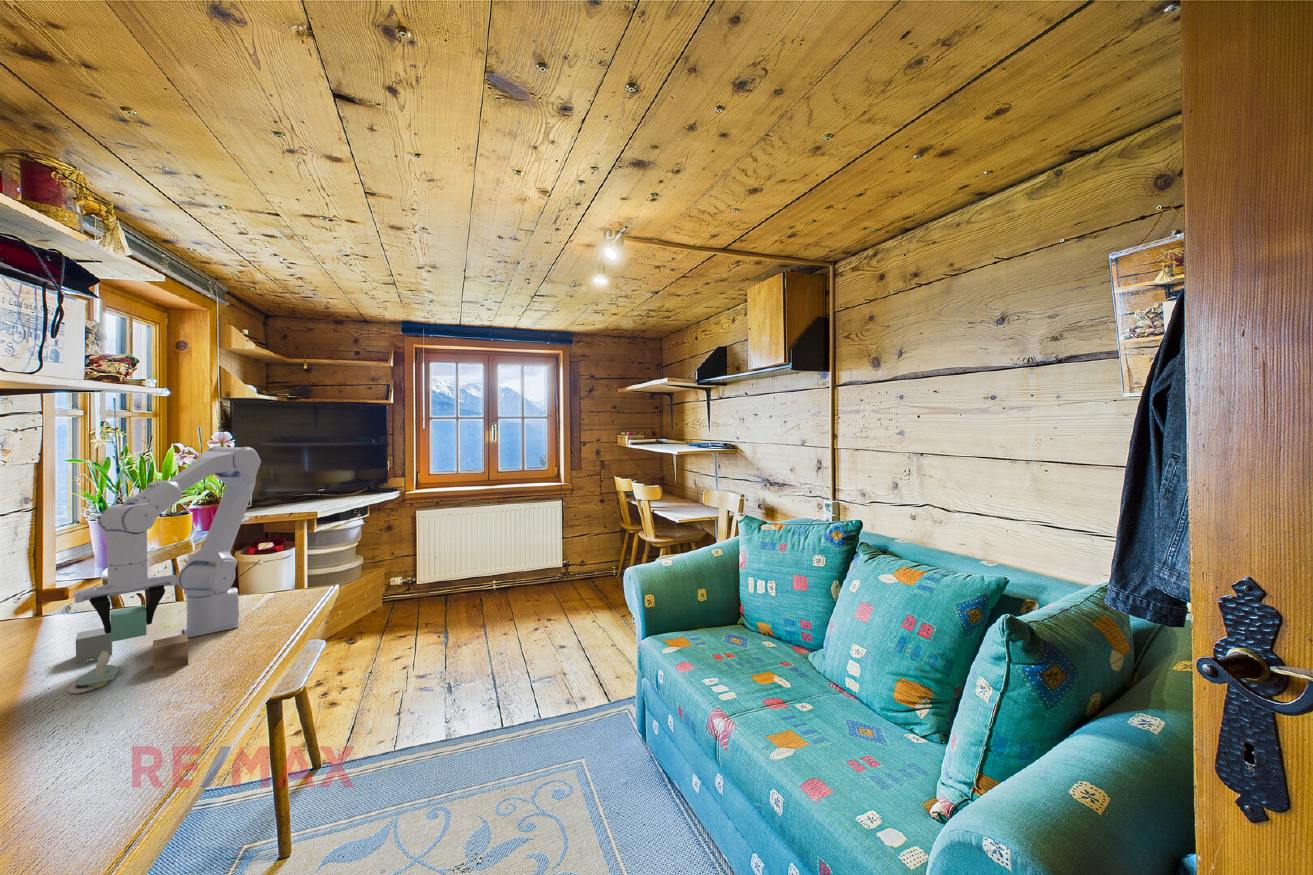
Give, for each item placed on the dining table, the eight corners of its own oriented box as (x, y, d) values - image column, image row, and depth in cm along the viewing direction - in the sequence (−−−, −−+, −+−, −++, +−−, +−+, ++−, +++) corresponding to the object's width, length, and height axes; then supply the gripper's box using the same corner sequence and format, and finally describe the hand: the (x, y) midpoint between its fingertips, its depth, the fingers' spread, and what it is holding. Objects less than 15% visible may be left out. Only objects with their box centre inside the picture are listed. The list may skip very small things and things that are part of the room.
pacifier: (64, 700, 91) (112, 688, 95) (61, 666, 91) (110, 655, 95) (74, 683, 97) (119, 673, 101) (71, 651, 96) (117, 642, 100)
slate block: (112, 648, 111) (112, 626, 111) (111, 656, 108) (111, 632, 107) (77, 655, 108) (77, 632, 107) (76, 664, 104) (75, 639, 104)
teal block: (144, 628, 109) (144, 604, 109) (146, 634, 106) (146, 610, 106) (110, 634, 105) (110, 610, 105) (111, 642, 102) (111, 617, 102)
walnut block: (186, 657, 108) (186, 633, 108) (188, 665, 104) (188, 641, 104) (153, 664, 104) (153, 640, 104) (154, 673, 101) (153, 648, 101)
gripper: (171, 552, 113) (171, 612, 114) (72, 566, 102) (73, 633, 102) (178, 557, 109) (179, 620, 109) (76, 573, 97) (77, 643, 98)
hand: (128, 627), depth 105 cm, fingers closed on teal block, 5 cm apart
